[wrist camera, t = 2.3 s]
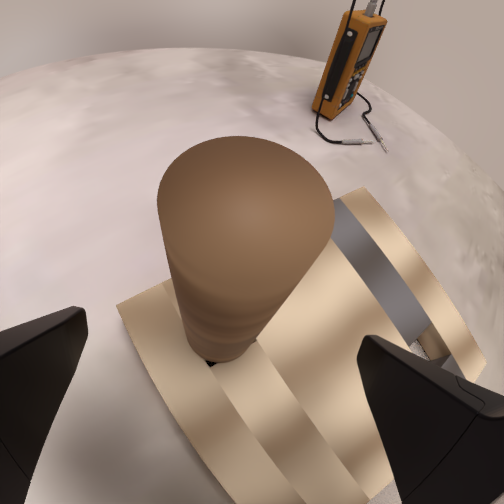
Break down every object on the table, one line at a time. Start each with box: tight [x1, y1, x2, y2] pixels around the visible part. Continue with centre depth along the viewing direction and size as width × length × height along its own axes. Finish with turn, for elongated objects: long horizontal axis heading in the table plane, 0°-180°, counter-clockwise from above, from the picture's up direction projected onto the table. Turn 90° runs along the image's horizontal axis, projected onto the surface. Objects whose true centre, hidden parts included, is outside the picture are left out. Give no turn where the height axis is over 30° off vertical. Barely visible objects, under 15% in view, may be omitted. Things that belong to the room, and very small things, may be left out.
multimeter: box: [312, 0, 389, 152], centre depth 23 cm, size 15×10×20 cm
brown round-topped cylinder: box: [157, 136, 335, 363], centre depth 12 cm, size 4×4×14 cm
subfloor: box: [116, 186, 487, 504], centre depth 17 cm, size 18×20×2 cm
